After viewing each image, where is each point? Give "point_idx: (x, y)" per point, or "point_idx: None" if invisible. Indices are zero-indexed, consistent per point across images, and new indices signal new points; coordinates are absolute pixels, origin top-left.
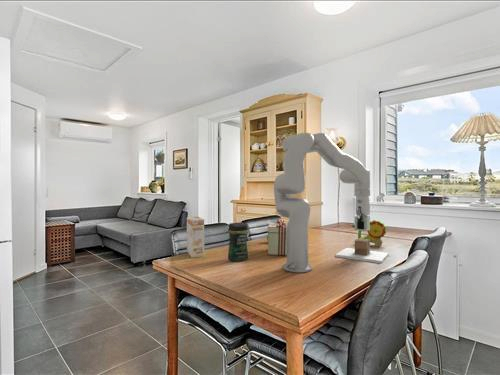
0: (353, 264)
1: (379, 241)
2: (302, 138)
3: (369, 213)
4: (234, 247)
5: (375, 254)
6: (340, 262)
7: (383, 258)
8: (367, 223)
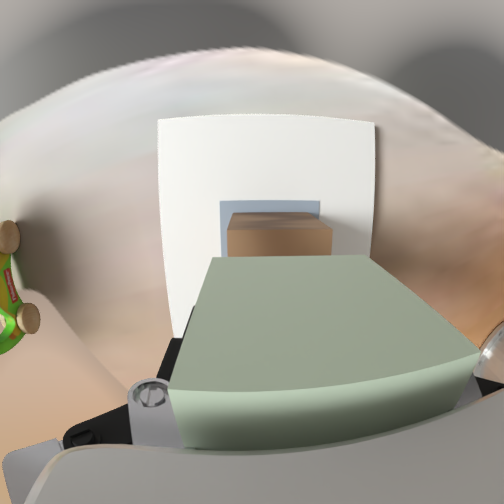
0: (436, 238)
1: (1, 232)
2: None
3: (144, 461)
4: None
5: (242, 175)
6: (427, 292)
7: (317, 117)
8: (385, 295)
